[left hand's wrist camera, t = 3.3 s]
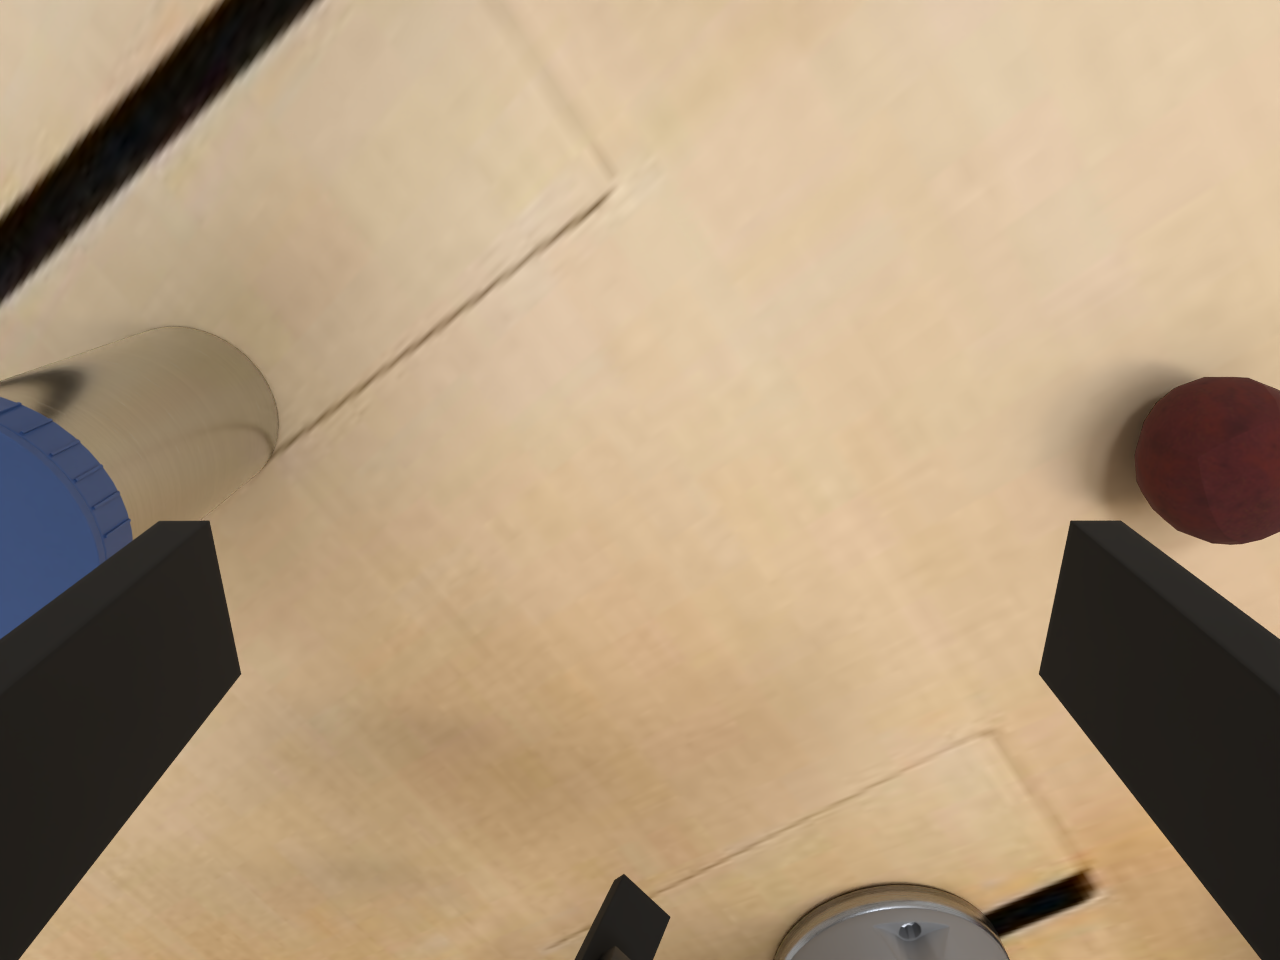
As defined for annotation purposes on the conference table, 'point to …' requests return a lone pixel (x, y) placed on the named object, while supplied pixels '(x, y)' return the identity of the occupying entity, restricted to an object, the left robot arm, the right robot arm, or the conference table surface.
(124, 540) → the lid
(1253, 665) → the left robot arm
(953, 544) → the conference table surface
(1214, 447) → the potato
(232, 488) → the jar
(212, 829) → the conference table surface
